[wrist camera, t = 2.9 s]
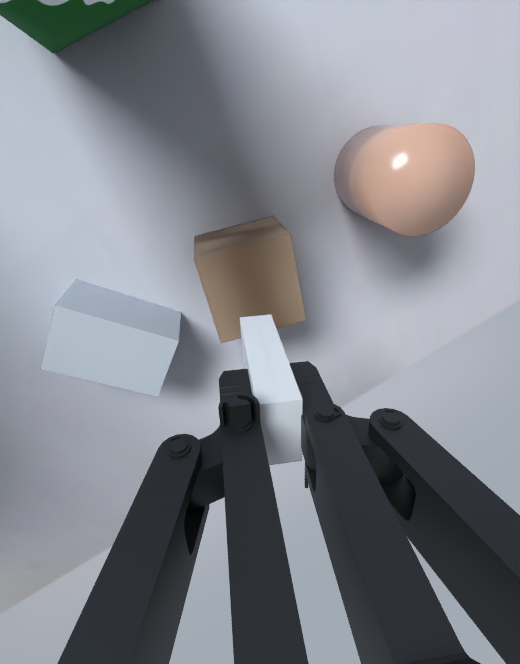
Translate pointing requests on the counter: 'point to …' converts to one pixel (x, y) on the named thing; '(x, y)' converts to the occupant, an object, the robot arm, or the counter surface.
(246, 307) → the walnut cube
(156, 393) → the grey brick
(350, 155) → the peach domed cylinder
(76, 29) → the milk carton
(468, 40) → the counter surface
